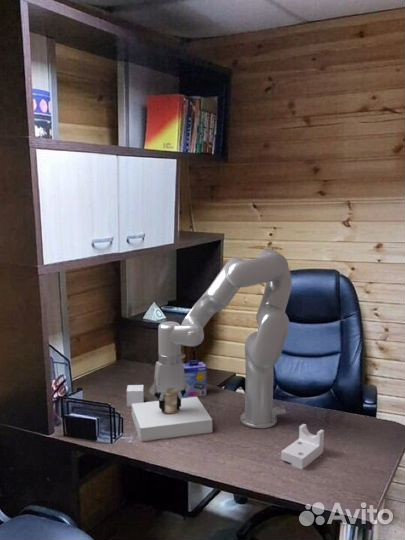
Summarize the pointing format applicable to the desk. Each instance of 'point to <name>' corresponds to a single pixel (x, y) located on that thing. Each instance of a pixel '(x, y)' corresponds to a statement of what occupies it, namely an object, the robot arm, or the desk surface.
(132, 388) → the white cube
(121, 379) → the desk surface
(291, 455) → the bracket
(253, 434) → the desk surface
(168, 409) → the beech leg
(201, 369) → the ink cartridge box
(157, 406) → the socket block
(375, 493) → the desk surface
